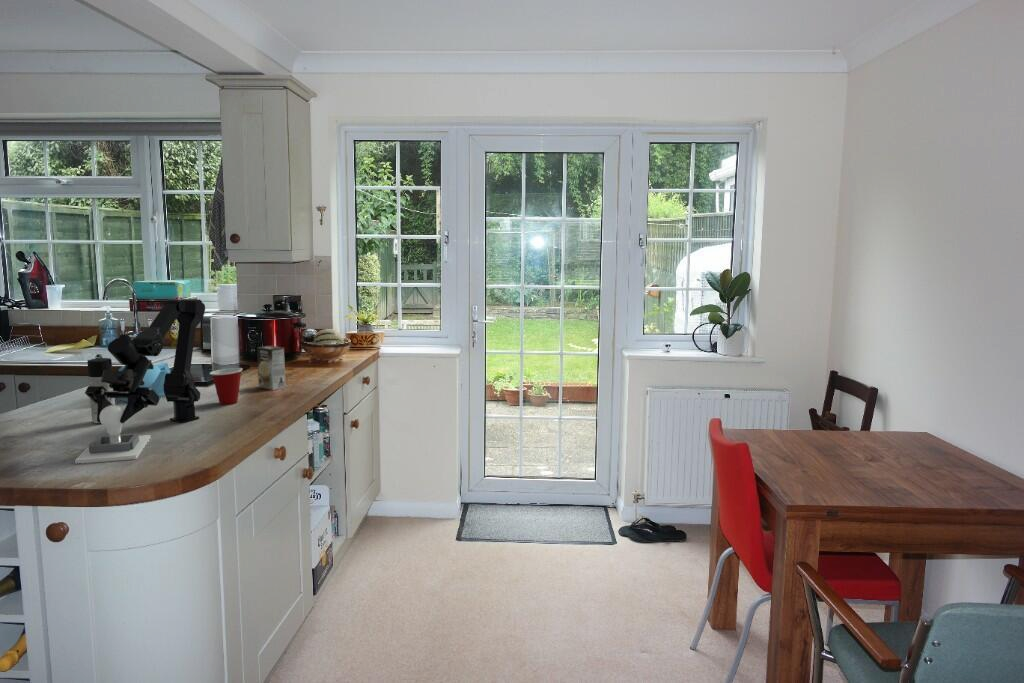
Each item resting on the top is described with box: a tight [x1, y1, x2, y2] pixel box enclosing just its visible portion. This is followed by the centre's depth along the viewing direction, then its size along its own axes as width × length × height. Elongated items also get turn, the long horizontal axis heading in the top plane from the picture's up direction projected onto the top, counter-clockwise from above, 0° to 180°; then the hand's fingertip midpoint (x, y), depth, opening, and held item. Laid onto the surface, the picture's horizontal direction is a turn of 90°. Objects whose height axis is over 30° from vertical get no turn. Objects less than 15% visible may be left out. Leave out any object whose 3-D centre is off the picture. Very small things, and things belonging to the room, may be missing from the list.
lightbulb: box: [99, 404, 125, 444], centre depth 185 cm, size 6×6×11 cm
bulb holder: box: [74, 432, 152, 465], centre depth 186 cm, size 20×14×3 cm
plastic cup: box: [209, 367, 243, 406], centre depth 241 cm, size 11×11×12 cm
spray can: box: [86, 357, 116, 424], centre depth 214 cm, size 7×7×20 cm
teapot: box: [117, 361, 171, 402], centre depth 249 cm, size 19×19×14 cm
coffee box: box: [256, 345, 286, 391], centre depth 267 cm, size 9×6×16 cm
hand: (109, 422), depth 184 cm, fingers closed on lightbulb, 6 cm apart
